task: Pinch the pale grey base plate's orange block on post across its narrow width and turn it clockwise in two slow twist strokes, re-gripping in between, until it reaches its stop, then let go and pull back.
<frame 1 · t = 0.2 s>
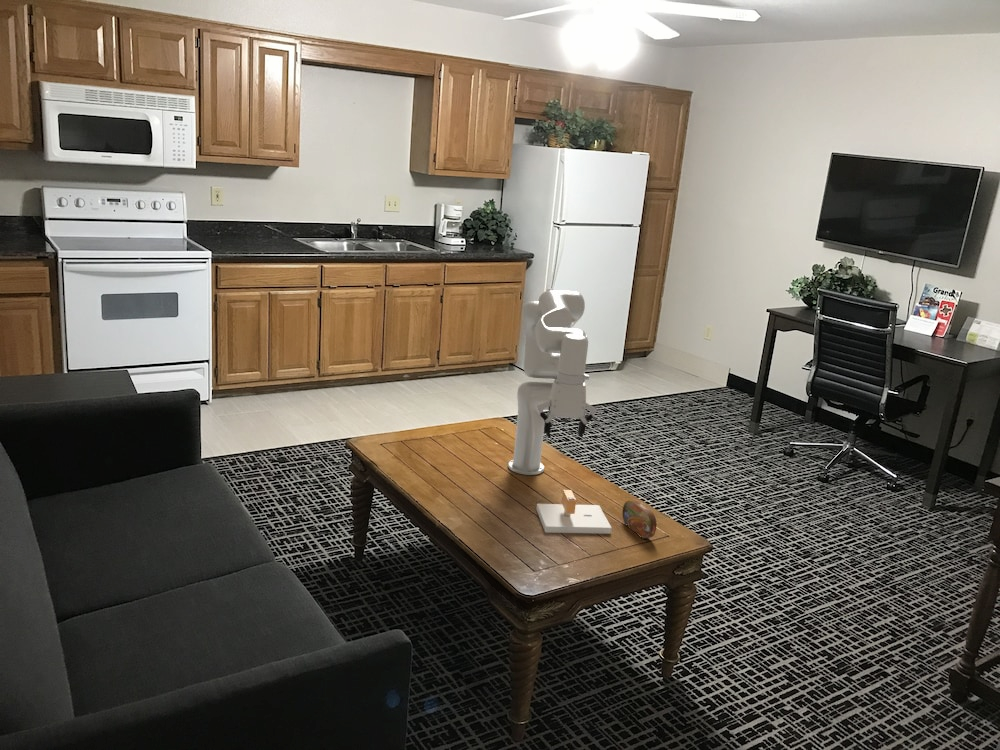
hand: (563, 435, 231), 30 cm above the table, tool pointing down, fingers open, 9 cm apart
orange block on post: (568, 501, 243), point 7 cm above the table, hinge at 0.0°
tin: (637, 531, 243), on the table
base plate: (572, 521, 245), on the table
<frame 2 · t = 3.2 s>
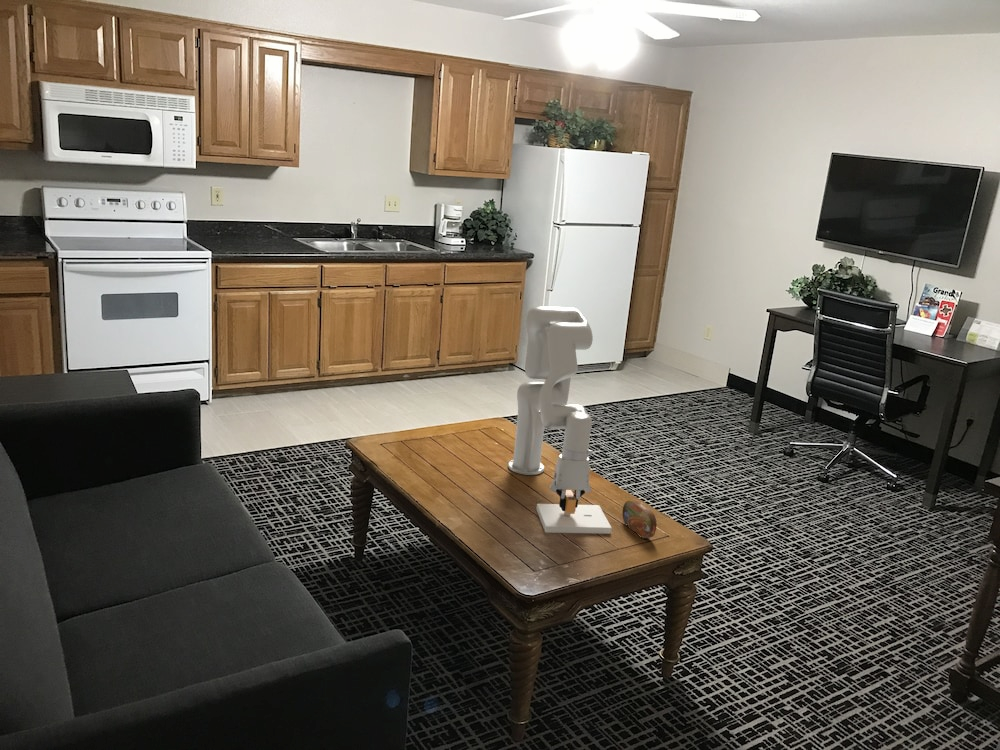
hand: (567, 508, 244), 4 cm above the table, tool pointing down, fingers closed on orange block on post, 2 cm apart
orange block on post: (568, 501, 243), point 7 cm above the table, hinge at 0.0°, touching gripper
everything else where it was.
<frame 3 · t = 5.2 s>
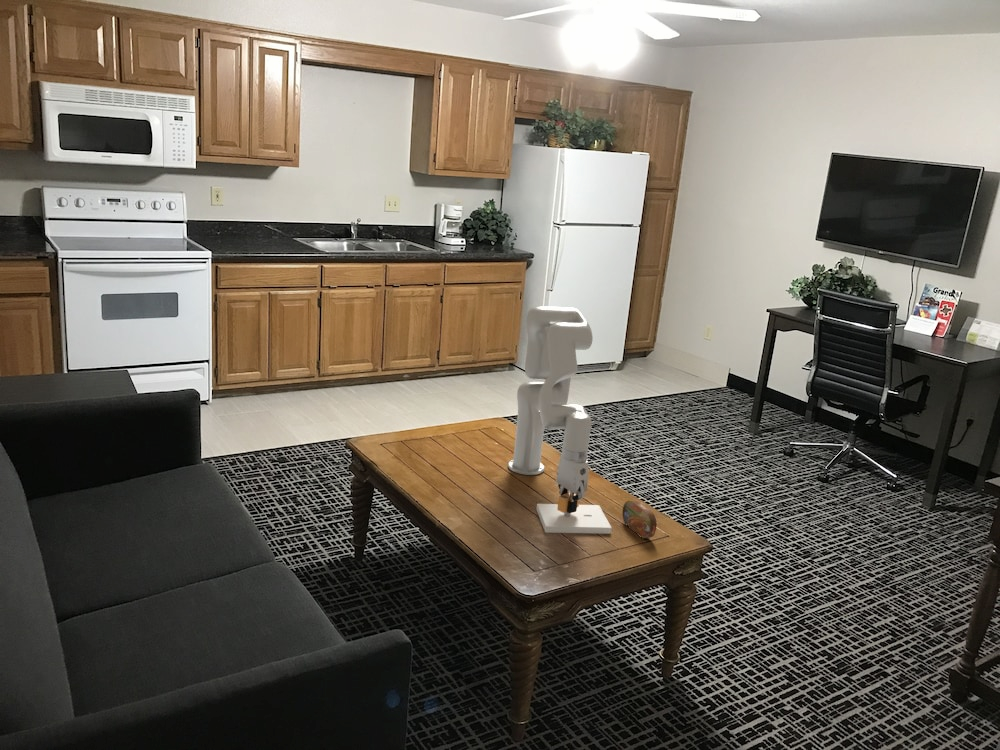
hand: (567, 508, 244), 4 cm above the table, tool pointing down, fingers closed on orange block on post, 3 cm apart
orange block on post: (568, 501, 243), point 7 cm above the table, hinge at 52.8°, touching gripper
everything else where it was.
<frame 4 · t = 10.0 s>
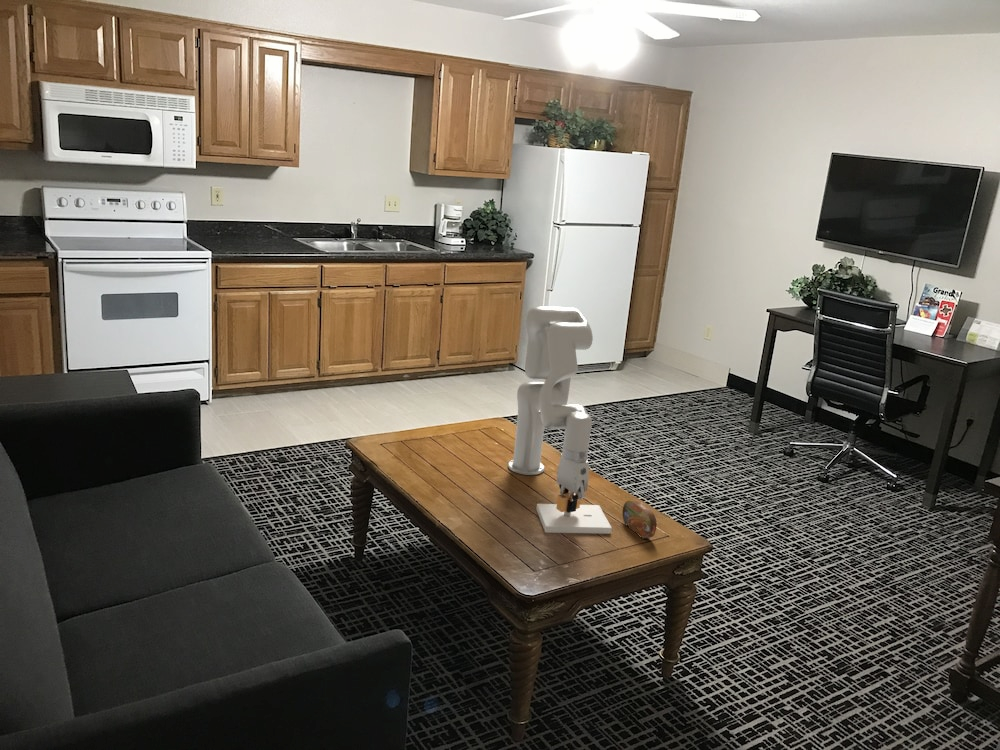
hand: (567, 508, 244), 4 cm above the table, tool pointing down, fingers closed on orange block on post, 2 cm apart
orange block on post: (568, 501, 243), point 7 cm above the table, hinge at 64.7°, touching gripper
everything else where it was.
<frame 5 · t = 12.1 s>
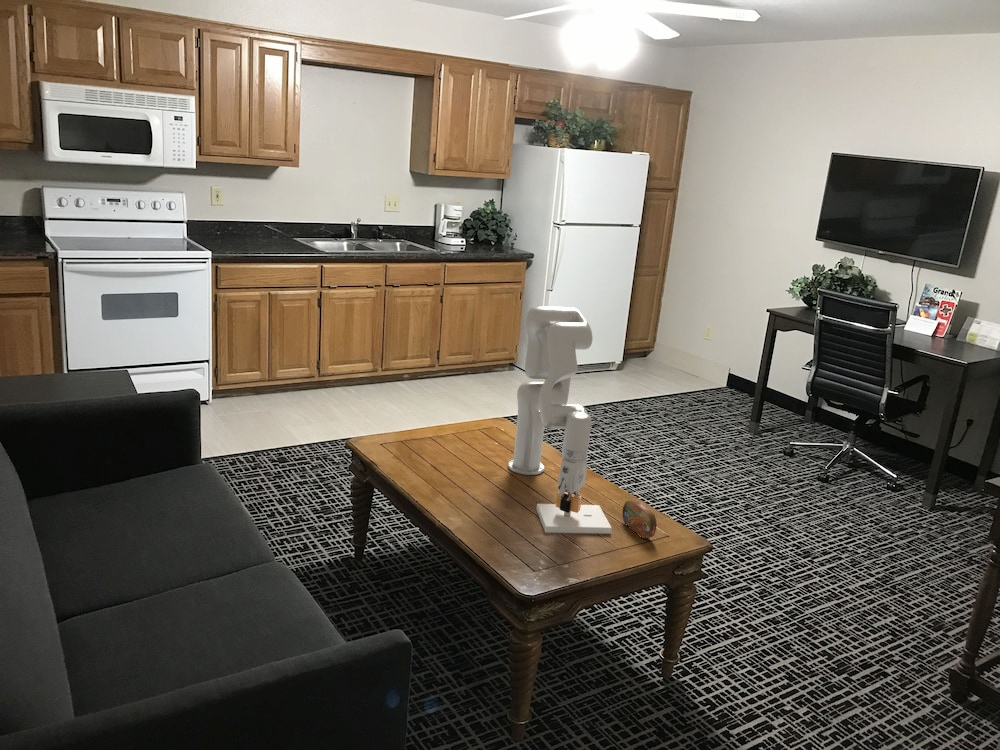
hand: (567, 508, 244), 4 cm above the table, tool pointing down, fingers closed on orange block on post, 3 cm apart
orange block on post: (568, 501, 243), point 7 cm above the table, hinge at 122.6°, touching gripper
everything else where it was.
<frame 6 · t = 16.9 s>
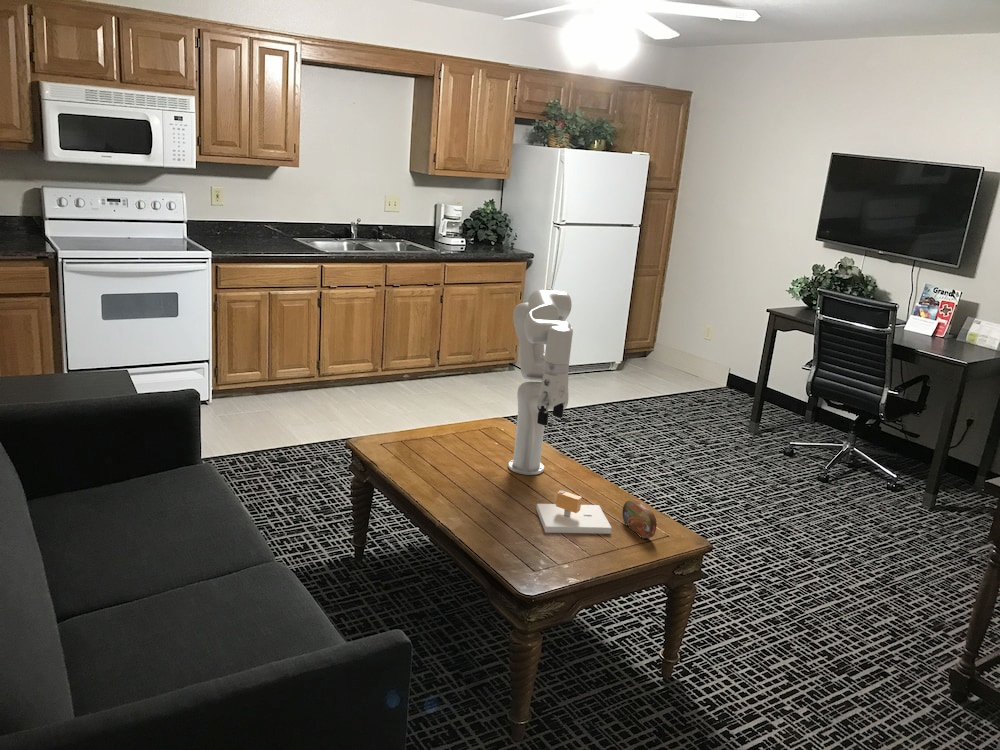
hand: (549, 420, 247), 28 cm above the table, tool pointing down, fingers open, 9 cm apart
orange block on post: (568, 501, 243), point 7 cm above the table, hinge at 129.5°
everything else where it was.
at the end: orange block on post at +130° (first picture: +0°); the gripper is holding nothing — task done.
